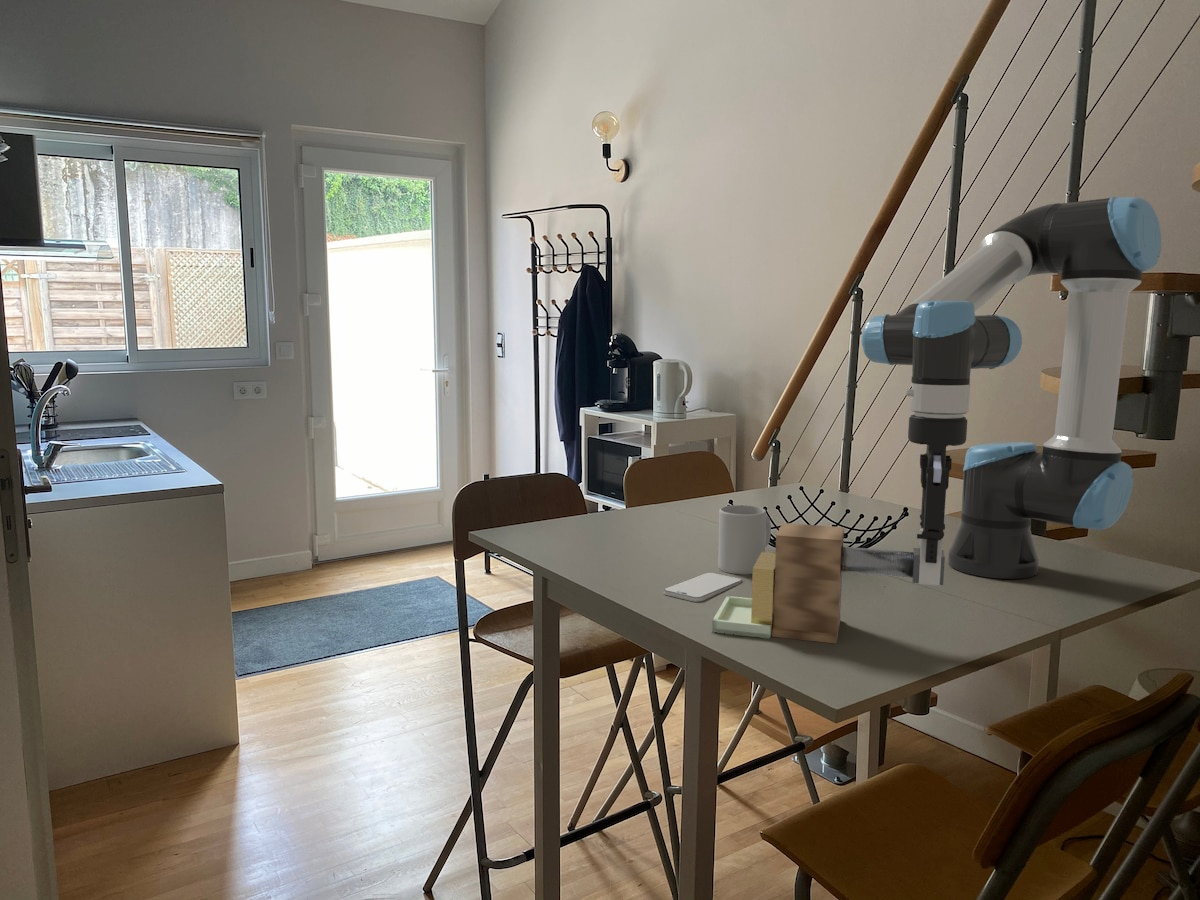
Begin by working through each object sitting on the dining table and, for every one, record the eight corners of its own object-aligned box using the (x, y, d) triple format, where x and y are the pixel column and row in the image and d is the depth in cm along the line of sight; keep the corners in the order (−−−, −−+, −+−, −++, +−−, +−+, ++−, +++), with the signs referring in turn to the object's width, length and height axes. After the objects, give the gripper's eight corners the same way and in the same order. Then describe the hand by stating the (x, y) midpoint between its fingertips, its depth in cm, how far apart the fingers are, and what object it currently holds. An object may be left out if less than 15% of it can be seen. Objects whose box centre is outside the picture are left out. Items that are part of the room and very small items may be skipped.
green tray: (779, 612, 138) (780, 601, 138) (769, 638, 127) (770, 626, 127) (726, 606, 141) (726, 595, 140) (712, 632, 129) (712, 620, 129)
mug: (744, 577, 156) (745, 517, 155) (708, 567, 163) (709, 509, 161) (786, 565, 164) (787, 507, 162) (750, 555, 170) (751, 500, 169)
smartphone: (744, 579, 154) (698, 598, 143) (744, 585, 154) (698, 605, 143) (708, 571, 159) (661, 589, 147) (708, 577, 159) (660, 596, 147)
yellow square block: (779, 611, 137) (781, 553, 135) (771, 631, 128) (773, 570, 127) (759, 609, 138) (761, 552, 136) (751, 629, 129) (752, 568, 128)
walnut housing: (840, 620, 134) (844, 525, 132) (836, 643, 125) (840, 541, 123) (780, 614, 137) (783, 521, 135) (772, 636, 128) (775, 536, 125)
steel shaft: (941, 577, 126) (943, 549, 125) (943, 585, 122) (944, 557, 121) (798, 565, 132) (799, 539, 131) (796, 572, 128) (796, 545, 128)
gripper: (908, 407, 130) (899, 560, 134) (910, 420, 114) (900, 594, 118) (962, 409, 128) (952, 565, 131) (973, 422, 112) (961, 600, 115)
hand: (928, 578), depth 125 cm, fingers closed on steel shaft, 4 cm apart
